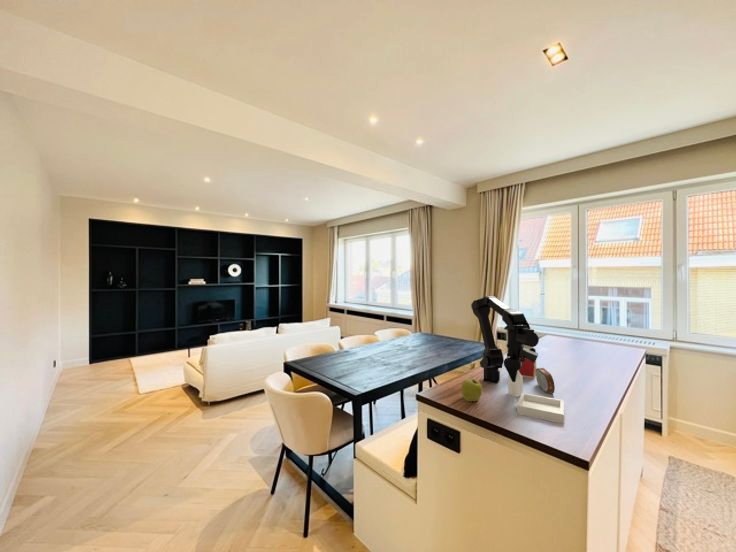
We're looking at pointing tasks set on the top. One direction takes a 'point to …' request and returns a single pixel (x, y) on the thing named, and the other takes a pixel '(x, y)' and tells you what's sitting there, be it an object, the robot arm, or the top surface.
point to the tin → (545, 380)
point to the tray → (541, 407)
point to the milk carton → (528, 367)
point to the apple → (471, 389)
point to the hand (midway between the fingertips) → (515, 378)
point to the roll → (515, 385)
